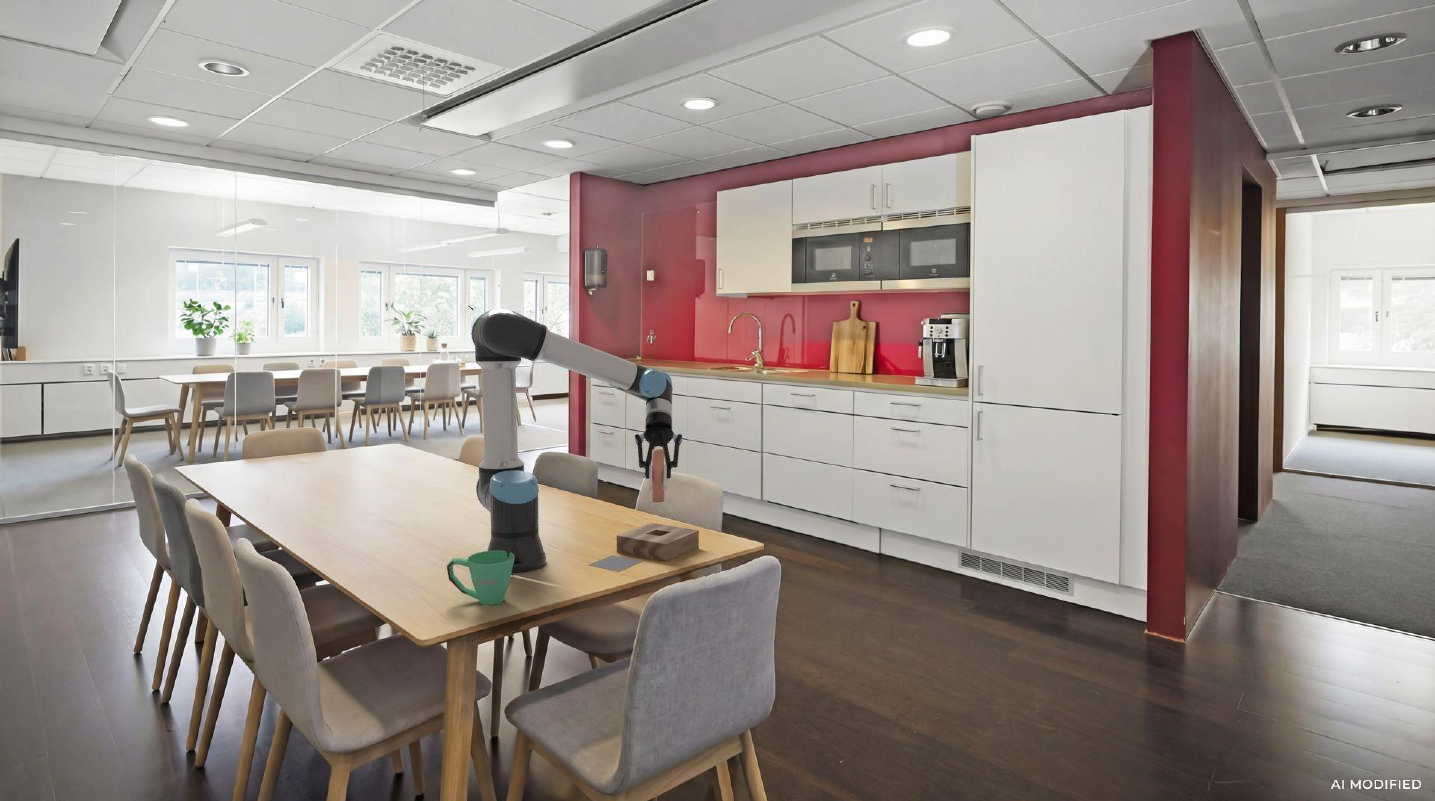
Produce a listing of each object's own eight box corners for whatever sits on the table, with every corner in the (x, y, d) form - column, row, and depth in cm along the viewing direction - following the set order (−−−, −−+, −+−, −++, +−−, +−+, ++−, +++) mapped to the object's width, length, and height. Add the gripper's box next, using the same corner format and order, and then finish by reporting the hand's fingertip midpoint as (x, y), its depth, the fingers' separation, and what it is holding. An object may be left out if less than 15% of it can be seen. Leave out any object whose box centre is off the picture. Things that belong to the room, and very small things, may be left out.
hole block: (616, 553, 200) (616, 535, 199) (651, 539, 214) (651, 522, 213) (665, 563, 192) (665, 544, 191) (698, 548, 205) (698, 530, 205)
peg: (650, 501, 201) (649, 450, 199) (656, 499, 203) (656, 448, 202) (659, 503, 199) (659, 451, 198) (666, 500, 202) (666, 449, 201)
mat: (587, 566, 188) (587, 564, 188) (612, 556, 197) (612, 555, 197) (619, 573, 183) (619, 571, 183) (643, 563, 192) (643, 561, 192)
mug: (520, 593, 168) (519, 550, 167) (507, 609, 159) (506, 563, 158) (455, 593, 168) (454, 549, 168) (439, 608, 159) (438, 563, 158)
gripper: (687, 426, 215) (688, 495, 200) (630, 426, 214) (627, 495, 199) (687, 410, 210) (688, 479, 195) (629, 410, 209) (626, 480, 194)
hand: (657, 487), depth 197 cm, fingers closed on peg, 3 cm apart
